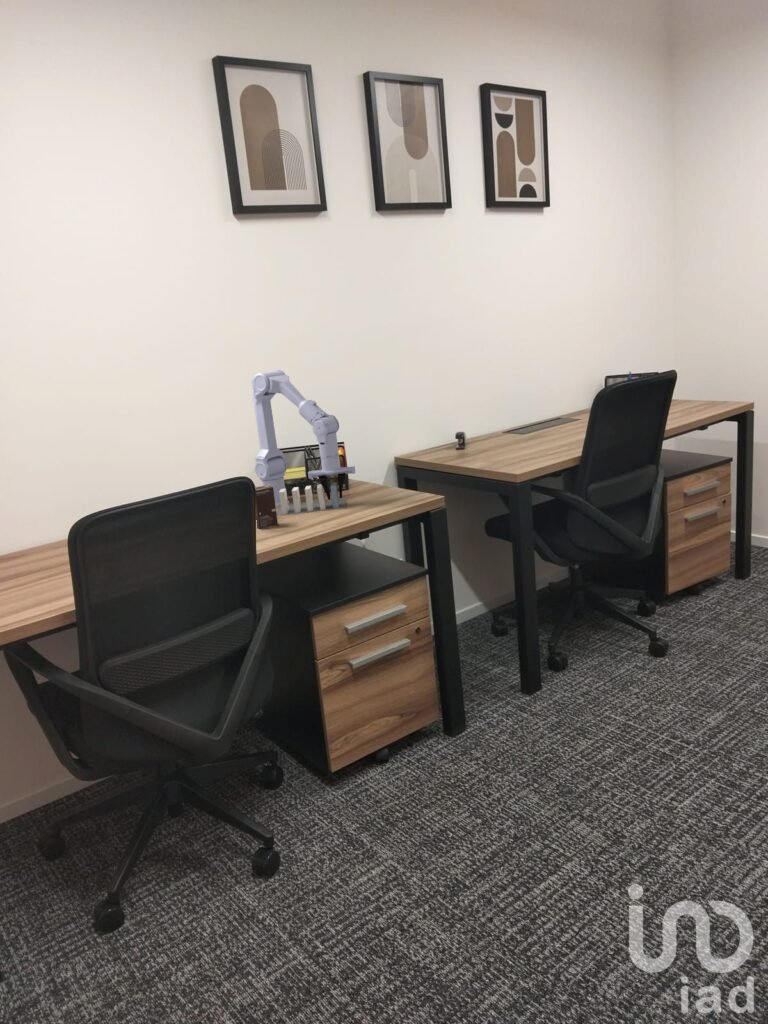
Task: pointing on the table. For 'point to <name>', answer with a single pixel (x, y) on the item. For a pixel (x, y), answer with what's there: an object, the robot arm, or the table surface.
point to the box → (265, 507)
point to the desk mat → (316, 507)
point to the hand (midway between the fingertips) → (335, 498)
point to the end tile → (334, 495)
